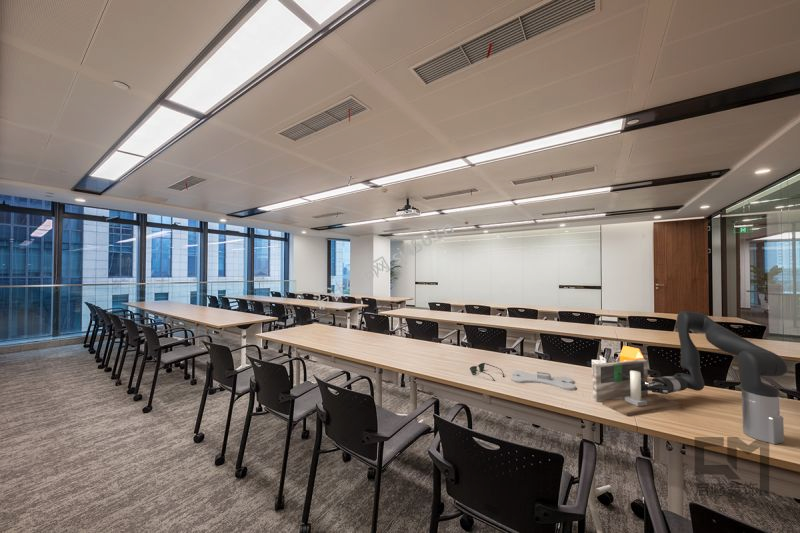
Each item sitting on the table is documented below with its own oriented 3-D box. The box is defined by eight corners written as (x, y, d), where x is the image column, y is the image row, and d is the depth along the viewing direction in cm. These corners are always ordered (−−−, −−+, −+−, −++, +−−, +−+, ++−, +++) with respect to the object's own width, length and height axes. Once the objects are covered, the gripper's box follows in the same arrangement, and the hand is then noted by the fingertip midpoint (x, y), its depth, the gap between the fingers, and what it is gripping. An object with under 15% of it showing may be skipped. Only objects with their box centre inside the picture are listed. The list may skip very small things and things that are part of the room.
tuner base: (681, 407, 138) (680, 369, 138) (627, 416, 129) (626, 375, 130) (643, 392, 154) (642, 359, 154) (593, 400, 146) (592, 364, 146)
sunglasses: (492, 383, 170) (492, 374, 170) (469, 375, 183) (469, 367, 183) (507, 376, 180) (507, 368, 180) (484, 369, 193) (484, 362, 193)
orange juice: (628, 377, 177) (627, 344, 178) (644, 382, 169) (643, 348, 169) (619, 379, 174) (619, 346, 175) (636, 384, 166) (635, 349, 167)
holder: (576, 392, 156) (576, 383, 156) (510, 382, 171) (510, 373, 171) (572, 380, 173) (572, 372, 174) (512, 372, 188) (512, 364, 188)
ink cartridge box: (591, 378, 175) (590, 354, 176) (600, 379, 174) (600, 354, 175) (598, 384, 167) (597, 358, 167) (607, 384, 166) (607, 359, 166)
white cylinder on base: (647, 404, 136) (646, 373, 137) (637, 406, 135) (637, 374, 135) (624, 395, 147) (623, 366, 147) (615, 396, 145) (614, 367, 146)
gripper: (651, 372, 150) (625, 375, 146) (681, 382, 137) (654, 385, 133) (651, 387, 150) (625, 390, 145) (681, 397, 137) (654, 402, 133)
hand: (639, 388), depth 139 cm, fingers closed
